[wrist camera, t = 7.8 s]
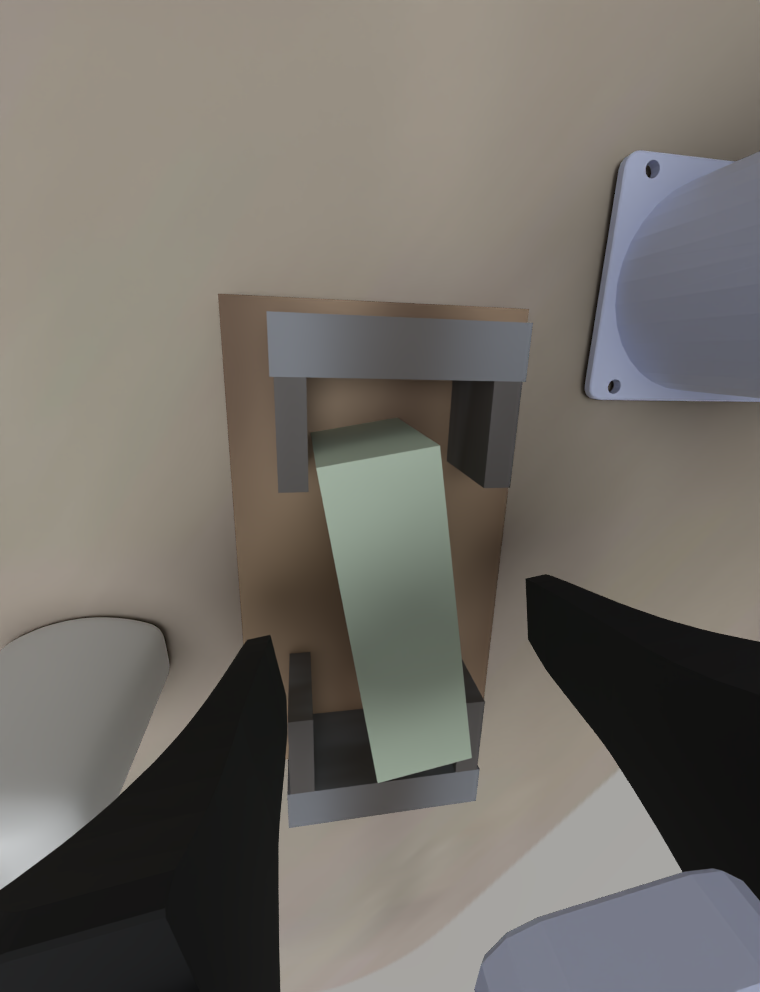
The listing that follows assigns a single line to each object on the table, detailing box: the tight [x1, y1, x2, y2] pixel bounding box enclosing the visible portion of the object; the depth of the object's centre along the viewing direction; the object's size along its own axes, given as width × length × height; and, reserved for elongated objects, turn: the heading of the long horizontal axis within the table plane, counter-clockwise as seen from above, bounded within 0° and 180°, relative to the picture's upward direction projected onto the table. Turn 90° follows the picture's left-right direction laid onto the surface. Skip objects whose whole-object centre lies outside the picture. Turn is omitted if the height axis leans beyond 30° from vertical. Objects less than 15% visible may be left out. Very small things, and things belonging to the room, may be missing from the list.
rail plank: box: [311, 418, 472, 783], centre depth 15 cm, size 3×10×5 cm, turn 8°
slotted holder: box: [218, 294, 533, 828], centre depth 16 cm, size 10×18×4 cm, turn 178°
